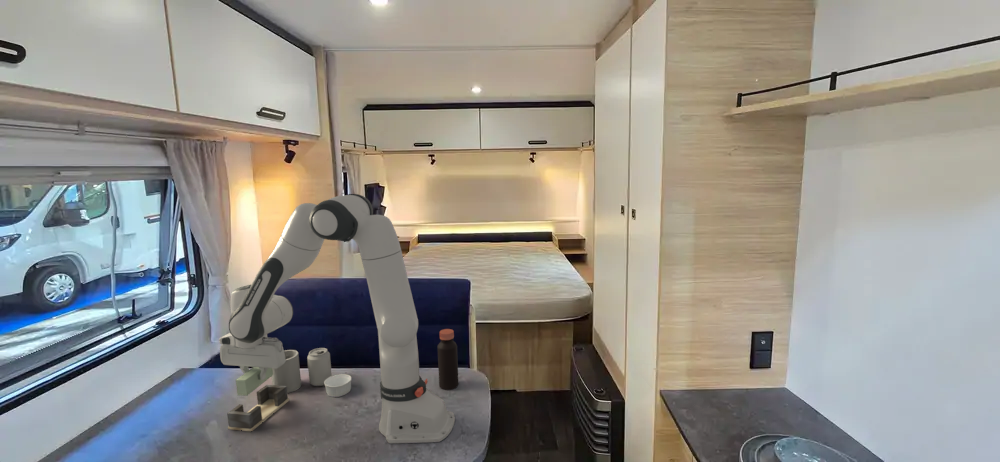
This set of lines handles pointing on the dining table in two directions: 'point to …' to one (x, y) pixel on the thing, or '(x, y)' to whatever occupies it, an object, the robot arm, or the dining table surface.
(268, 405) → the grey and cream cradle
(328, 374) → the can
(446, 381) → the bottle
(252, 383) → the slat
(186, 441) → the dining table surface
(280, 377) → the cup
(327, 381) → the ramekin
